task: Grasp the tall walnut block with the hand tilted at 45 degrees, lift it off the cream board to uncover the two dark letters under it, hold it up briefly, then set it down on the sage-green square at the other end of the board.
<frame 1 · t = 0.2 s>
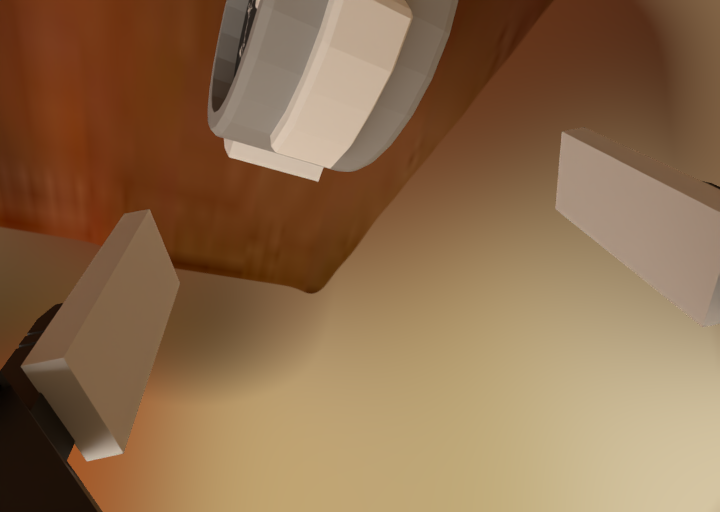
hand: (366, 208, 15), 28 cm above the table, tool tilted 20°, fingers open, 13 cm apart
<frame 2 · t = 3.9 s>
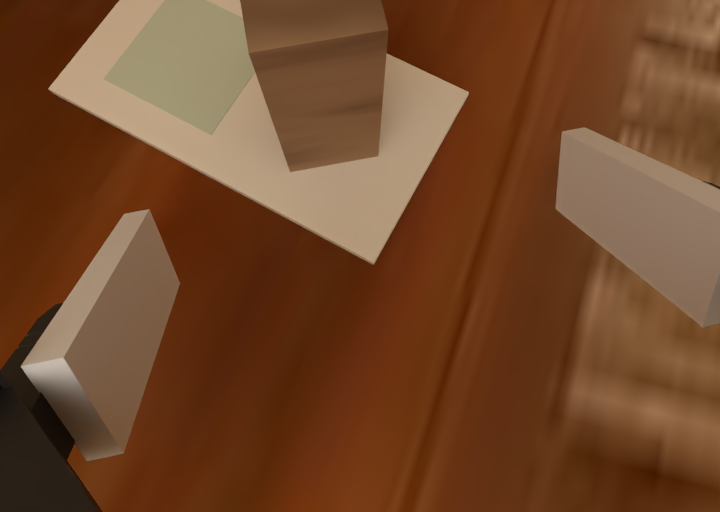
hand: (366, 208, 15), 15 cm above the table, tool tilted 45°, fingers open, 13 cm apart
walnut block: (326, 124, 32), point 1 cm above the table, touching code board
code board: (260, 95, 33), on the table
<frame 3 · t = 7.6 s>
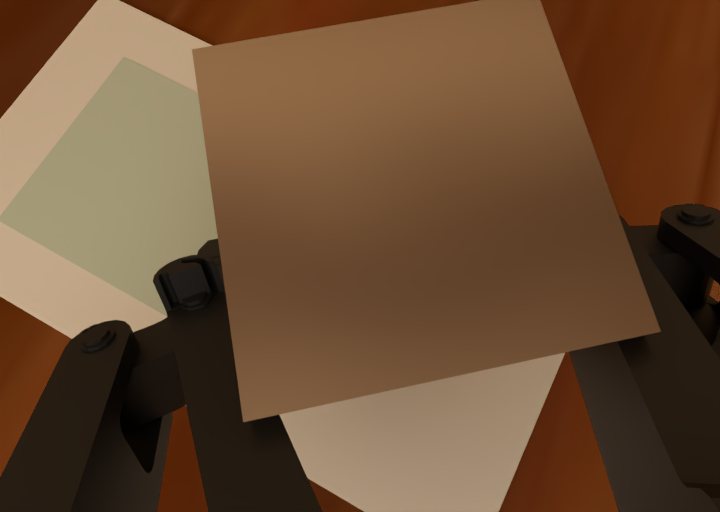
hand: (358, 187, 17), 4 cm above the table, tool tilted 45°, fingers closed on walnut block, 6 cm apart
walnut block: (376, 301, 19), point 1 cm above the table, touching code board, gripper
code board: (262, 242, 20), on the table
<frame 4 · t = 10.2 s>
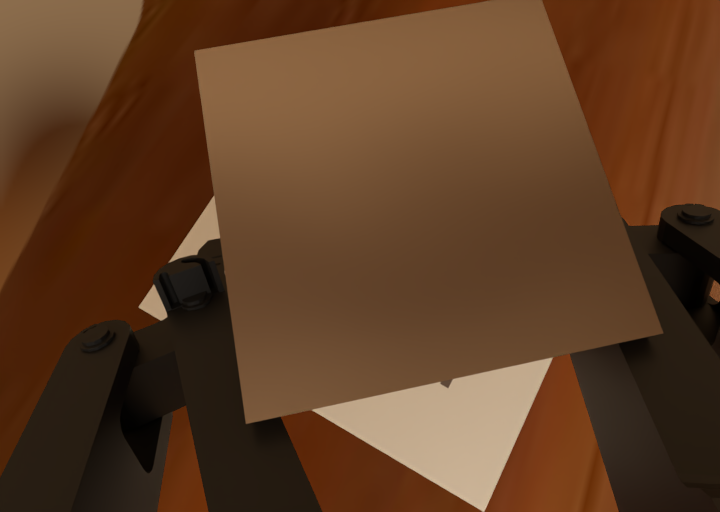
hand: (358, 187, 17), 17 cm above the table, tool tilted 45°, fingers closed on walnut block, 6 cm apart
walnut block: (377, 301, 19), point 14 cm above the table, touching gripper
code board: (355, 311, 32), on the table
when the fingers open (5 cm above the table, at t = 13.1 s): walnut block drops 1 cm, resting on code board.
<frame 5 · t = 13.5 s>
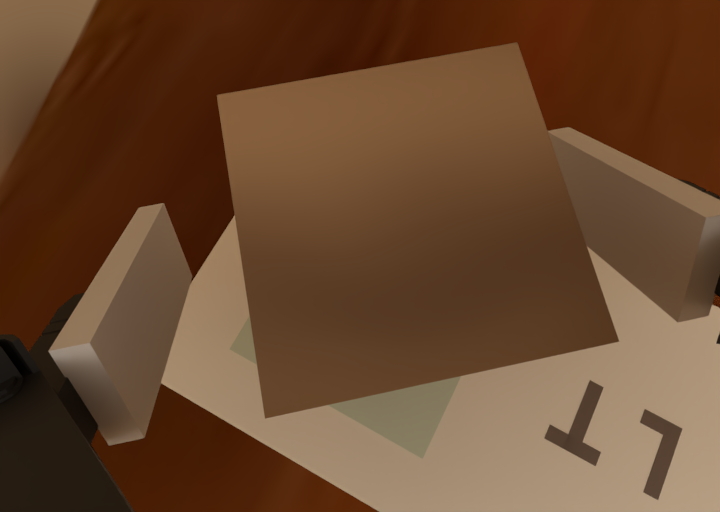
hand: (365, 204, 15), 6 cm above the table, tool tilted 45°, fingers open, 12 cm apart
walnut block: (376, 307, 20), point 1 cm above the table, touching code board
code board: (487, 368, 20), on the table
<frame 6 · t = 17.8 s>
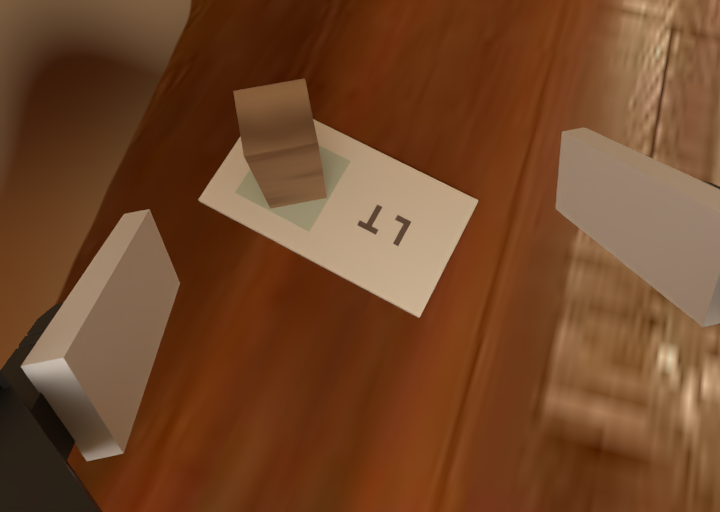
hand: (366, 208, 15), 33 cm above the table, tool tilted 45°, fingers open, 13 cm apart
walnut block: (294, 177, 50), point 1 cm above the table, touching code board
code board: (338, 202, 50), on the table
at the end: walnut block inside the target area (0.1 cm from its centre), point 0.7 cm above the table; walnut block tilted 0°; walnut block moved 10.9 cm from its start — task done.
